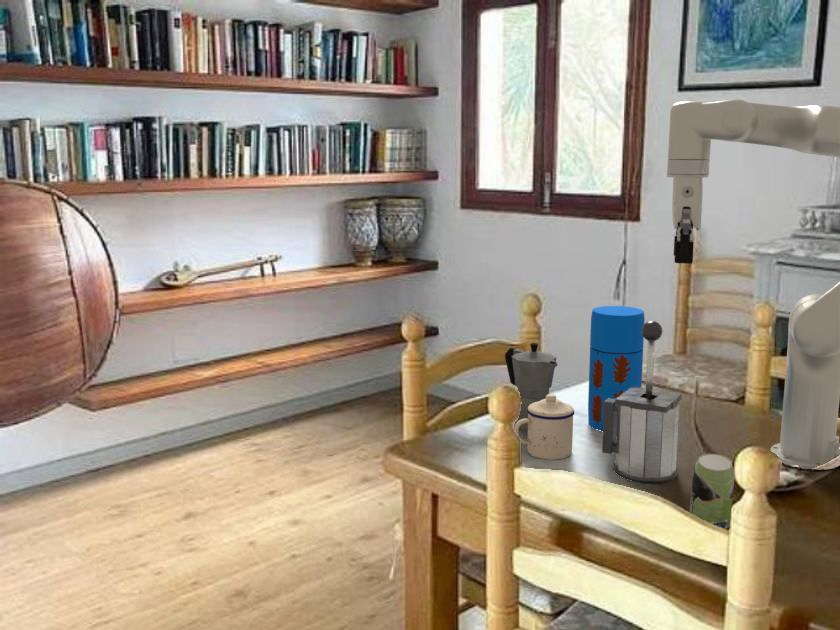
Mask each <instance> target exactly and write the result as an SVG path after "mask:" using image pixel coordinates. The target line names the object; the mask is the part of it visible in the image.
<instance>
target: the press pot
mask: <svg viewBox="0 0 840 630" xmlns="http://www.w3.org/2000/svg"><path fill="white" fill-rule="evenodd" d="M645 393H646V387H641V388H640V387H633V386H632V387H631V388H630V389H628V390H627V391H625V392H624V393H622V394H621V395H620V396H619V397H617V398H616V399H611V398H608V399H607V400H605V401H604V416H603V432H602V445H601V447H602V448H601V453H602V454H607V455H613V454H615V462H614V465H613V471H615V472H614V473H615V474H616V473H617V474H618V475H619V476H618V477H620V476H621V477H620V478H622V477H623V478H622V479H624V478H625V479H624V480H627V479H628V480H627V481H630V480H632V481H631V482H633V481H635V482H634V483H638V482H640V484H649V485H651V484H652V485H653V484H654V485H656V484H665V483H669V482H672V481H674V480H675V479H676V478H677V476H678V468H677V456H678V455H677V454H678V452H677V451H678V437H679V436H678V434H679V421H680V420H679V417H680V403H679V402H680V401H682V393H680V392H679V393H678V392H671V391H666V390H660V389H653V391H652V399H648V398H645ZM617 412H618V415H617ZM617 474H616V475H617Z"/></svg>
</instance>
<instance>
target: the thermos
mask: <svg viewBox="0 0 840 630" xmlns="http://www.w3.org/2000/svg"><path fill="white" fill-rule="evenodd" d="M591 310H592V311H591V316H590V336H589V337H590V339H589V340H590V341H589V346H590V347H589V366H588V368H589V370H588V372H589V373H588V374H589V375H588V397H587V398H588V399H587V400H588V401H587V413H588V414H587V416H588V417H587V418H588V426H589V425H590V426H591V427H590V426H589V427H590V428H592V427H593V428H594V429H593V428H592V429H593V430H595V429H598V430H601V431H603V416H604V401H605V400H607V399H608V398H611V399H616V398H617V397H619V396H620V395H621V394H622V393H624V392H625V391H627V390H628V389H630V388H631V387H632V386H633V387H640V388H642V383H643V361H644V359H643V358H644V339H645V338H644V337H643V335H642V332H641V330H642V327H643V325H644V324H645V320H646V319H645V311H644V310H642V309H641V308H637V307H633V306H626V305H625V306H623V305H605V306H604V305H603V306H597V307H594V308H592V309H591ZM617 415H618V412H617ZM598 430H597V431H598ZM601 431H600V432H601Z"/></svg>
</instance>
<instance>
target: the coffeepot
mask: <svg viewBox="0 0 840 630" xmlns="http://www.w3.org/2000/svg"><path fill="white" fill-rule="evenodd" d="M529 345H530V350H527V351H523V349H519V348H514V347H509V348H508V349H507V350H506V352H505V354H504V359H505V364H506V368H507V373H508V377H509V382H510V384H512V385H513V386H515V387H516V388H517V392H518V391H519V392H520V396H521V399H522V404H521V411H520V415H519V418H518V420H517V421H516V422H515V424H516V423H517V422H518V421H519V420H521V419H526V418H528V412H527V409H528V406H529V405H530V404H532V403H534V402H538V401H541V400H543V399H546V395H548V394H550V388H552V386H553V381H554V380H553V379H554V374H555V369H556V368H557V366H558V362H557V356H555V355H554V354H551V353H549V352H544V351H538V346H539V344H538V343H536V342H532V343H530V344H529ZM519 430H522V431H523V430H524V431H527V432H528V423H524V424H522V425H521V426H520V427H519Z"/></svg>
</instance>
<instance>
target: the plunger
mask: <svg viewBox="0 0 840 630" xmlns="http://www.w3.org/2000/svg"><path fill="white" fill-rule="evenodd" d="M641 332H642V335H643V337H644V339H645V340H646V341H647V351H646V353H647V354H646V355H647V356H646V357H647V358H646V373H645V377H646V379H645V388H646V393H645V398H648V399H652V391H653V390H654V388H653V387H654V385H653V384H654V369H655V367H654V366H655V347H656V345H655V344H656V341H658V340H659V339H660V338H661V337H662V335H663V328H662V325H661V324H660V323H659V322H657V321H655V320H649V321H648V320H647V321H646V322H644V325H643V327H642V330H641Z"/></svg>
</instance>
